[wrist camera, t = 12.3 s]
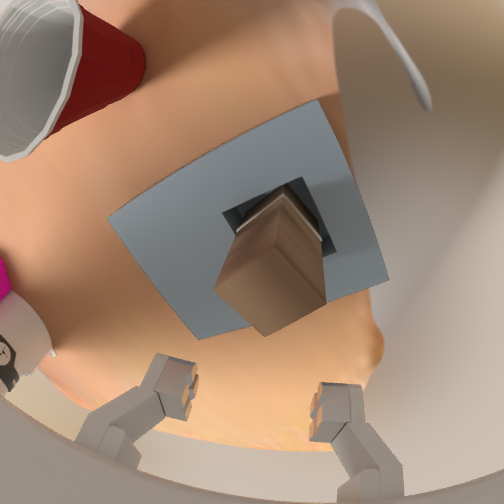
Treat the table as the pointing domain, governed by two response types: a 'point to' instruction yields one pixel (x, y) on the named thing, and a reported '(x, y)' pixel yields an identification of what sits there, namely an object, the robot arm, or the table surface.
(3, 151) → the plastic cup
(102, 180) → the table surface
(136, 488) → the robot arm
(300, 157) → the socket board
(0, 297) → the toy block
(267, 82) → the table surface
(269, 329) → the walnut peg
